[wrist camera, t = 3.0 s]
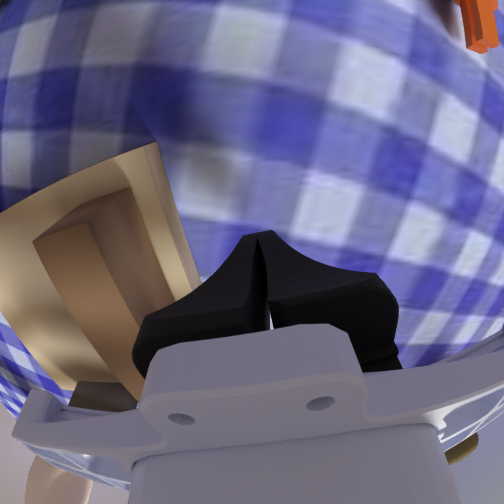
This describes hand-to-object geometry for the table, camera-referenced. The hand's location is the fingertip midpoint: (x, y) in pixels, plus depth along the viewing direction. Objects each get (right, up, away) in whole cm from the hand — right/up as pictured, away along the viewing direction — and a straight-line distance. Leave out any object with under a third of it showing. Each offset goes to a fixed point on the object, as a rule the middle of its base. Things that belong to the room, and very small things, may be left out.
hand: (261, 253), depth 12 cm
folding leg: (-6, -3, +3) cm, 7 cm away
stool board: (-12, -4, +5) cm, 14 cm away
